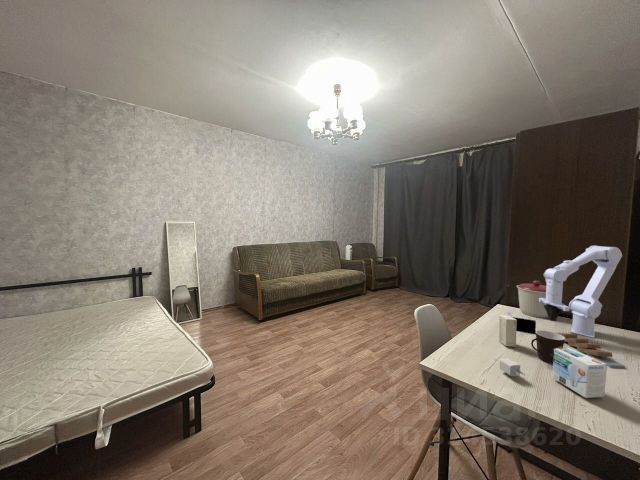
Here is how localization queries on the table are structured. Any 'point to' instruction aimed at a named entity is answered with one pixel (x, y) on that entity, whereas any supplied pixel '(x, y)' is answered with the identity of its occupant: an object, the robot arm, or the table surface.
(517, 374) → the usb wall charger
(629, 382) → the table surface
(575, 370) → the light bulb box
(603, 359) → the domino
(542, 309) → the canister
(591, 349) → the domino
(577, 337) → the domino
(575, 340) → the domino
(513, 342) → the skincare box
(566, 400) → the table surface
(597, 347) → the domino
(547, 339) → the coffee mug
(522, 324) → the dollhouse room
